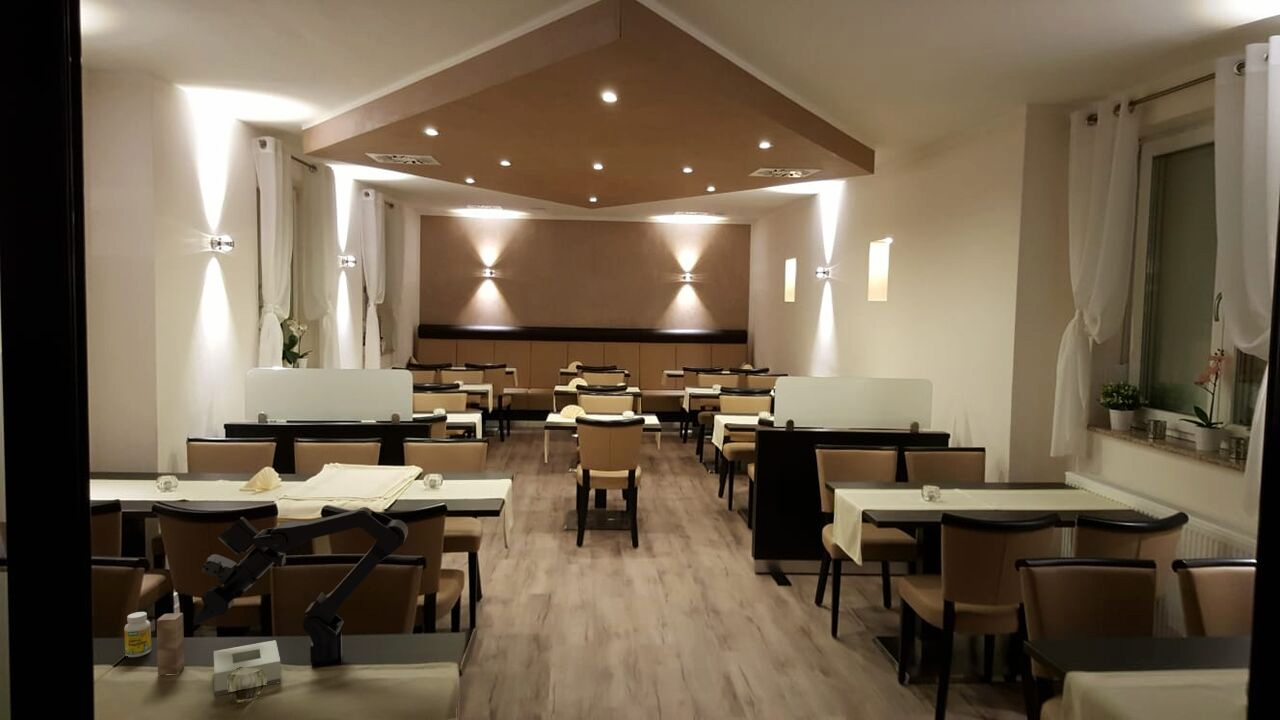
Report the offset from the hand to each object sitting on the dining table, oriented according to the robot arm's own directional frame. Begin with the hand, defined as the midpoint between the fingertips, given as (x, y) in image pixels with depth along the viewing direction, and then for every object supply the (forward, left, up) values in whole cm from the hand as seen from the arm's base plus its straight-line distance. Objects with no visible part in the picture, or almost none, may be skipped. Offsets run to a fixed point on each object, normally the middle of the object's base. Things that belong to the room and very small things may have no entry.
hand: (202, 615), depth 178 cm
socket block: (-10, +8, -13) cm, 18 cm away
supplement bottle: (+17, -15, -13) cm, 26 cm away
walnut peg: (+7, -1, -13) cm, 15 cm away
